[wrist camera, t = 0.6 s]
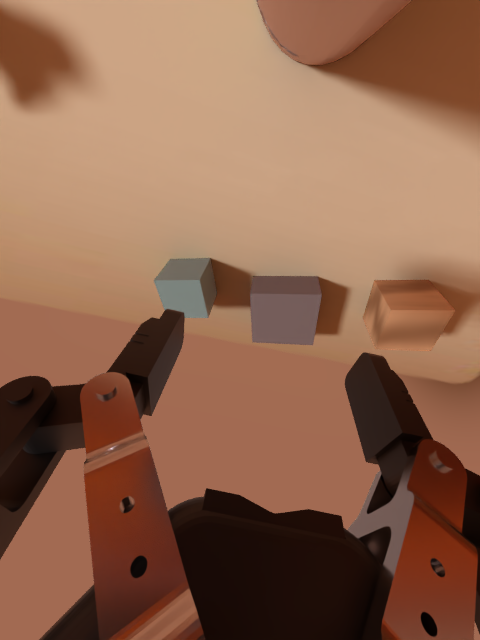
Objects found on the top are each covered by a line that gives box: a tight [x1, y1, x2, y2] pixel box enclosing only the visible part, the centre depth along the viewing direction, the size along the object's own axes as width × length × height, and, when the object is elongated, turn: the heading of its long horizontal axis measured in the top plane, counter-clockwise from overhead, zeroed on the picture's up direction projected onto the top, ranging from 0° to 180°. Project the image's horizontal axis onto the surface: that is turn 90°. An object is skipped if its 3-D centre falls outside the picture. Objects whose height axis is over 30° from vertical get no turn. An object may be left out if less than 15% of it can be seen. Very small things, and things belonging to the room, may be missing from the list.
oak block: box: [363, 280, 455, 351], centre depth 26 cm, size 6×6×6 cm
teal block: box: [154, 258, 217, 318], centre depth 28 cm, size 5×5×5 cm
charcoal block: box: [250, 276, 322, 345], centre depth 29 cm, size 8×8×4 cm
